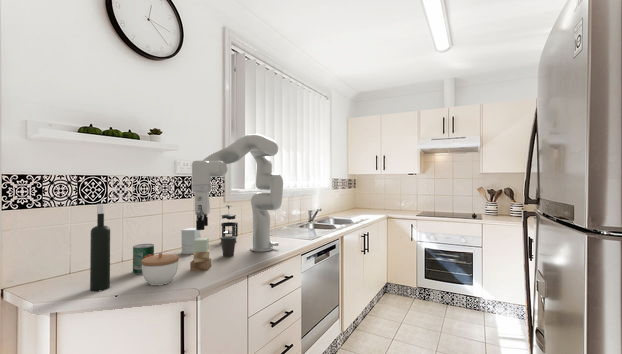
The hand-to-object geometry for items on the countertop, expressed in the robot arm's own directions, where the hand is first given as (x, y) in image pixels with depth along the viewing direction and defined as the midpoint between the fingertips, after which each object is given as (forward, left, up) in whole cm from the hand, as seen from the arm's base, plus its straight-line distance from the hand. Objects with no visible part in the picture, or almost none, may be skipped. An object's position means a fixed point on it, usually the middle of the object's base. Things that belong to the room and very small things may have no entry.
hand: (202, 227), depth 133 cm
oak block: (0, +1, -14) cm, 14 cm away
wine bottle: (+31, +20, -18) cm, 41 cm away
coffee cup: (-10, -20, -18) cm, 29 cm away
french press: (-8, -54, -18) cm, 58 cm away
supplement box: (+10, -31, -18) cm, 38 cm away
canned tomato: (+23, +1, -18) cm, 29 cm away
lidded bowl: (+12, +17, -18) cm, 27 cm away
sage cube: (0, 0, -10) cm, 10 cm away
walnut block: (0, +1, -18) cm, 18 cm away
